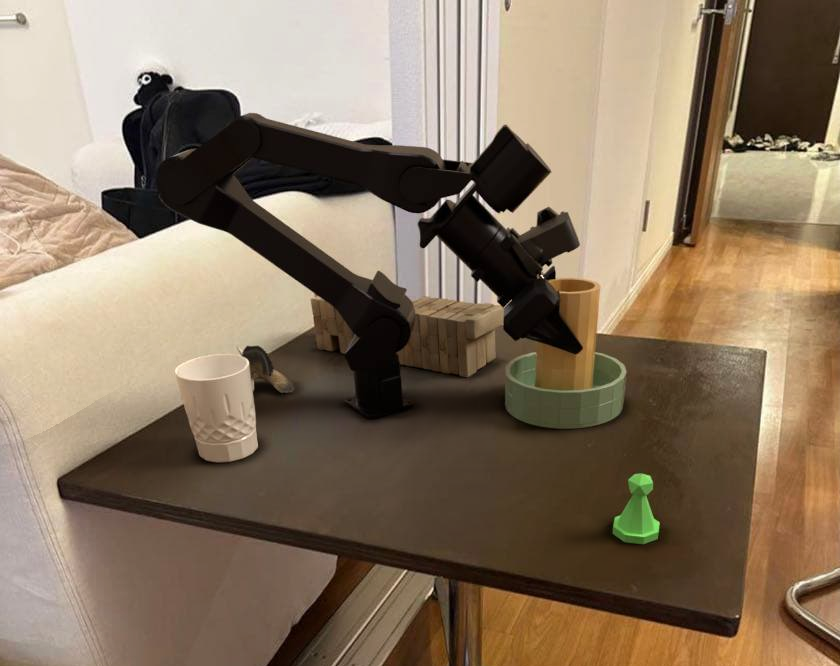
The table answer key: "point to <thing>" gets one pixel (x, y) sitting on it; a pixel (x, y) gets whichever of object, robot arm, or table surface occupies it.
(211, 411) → the white cup
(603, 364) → the pan
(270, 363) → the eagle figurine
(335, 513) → the table surface
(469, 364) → the block tower
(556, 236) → the robot arm
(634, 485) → the game piece
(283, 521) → the table surface
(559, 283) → the tumbler
